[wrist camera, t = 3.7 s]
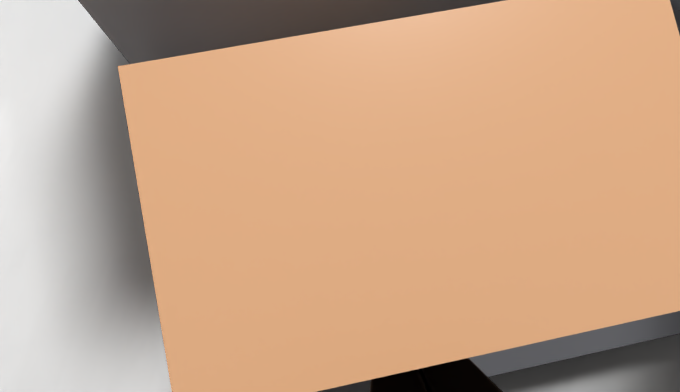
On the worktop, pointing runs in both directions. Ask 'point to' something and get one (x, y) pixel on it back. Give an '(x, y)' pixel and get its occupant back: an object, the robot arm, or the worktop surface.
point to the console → (311, 17)
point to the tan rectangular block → (409, 190)
